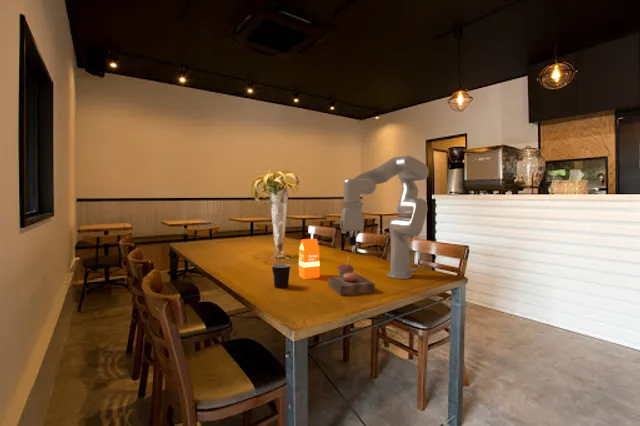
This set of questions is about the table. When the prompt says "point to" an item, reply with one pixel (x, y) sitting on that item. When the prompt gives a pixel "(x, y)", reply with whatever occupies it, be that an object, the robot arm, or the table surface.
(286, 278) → the coffee mug
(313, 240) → the orange juice
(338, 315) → the table surface
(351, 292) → the brown wooden tray
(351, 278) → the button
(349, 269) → the cupcake
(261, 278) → the table surface
